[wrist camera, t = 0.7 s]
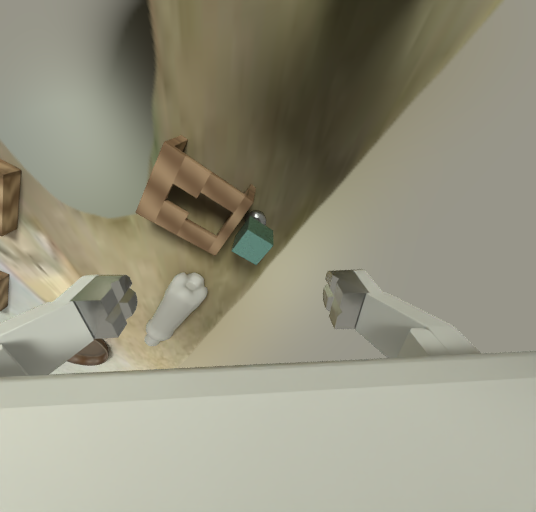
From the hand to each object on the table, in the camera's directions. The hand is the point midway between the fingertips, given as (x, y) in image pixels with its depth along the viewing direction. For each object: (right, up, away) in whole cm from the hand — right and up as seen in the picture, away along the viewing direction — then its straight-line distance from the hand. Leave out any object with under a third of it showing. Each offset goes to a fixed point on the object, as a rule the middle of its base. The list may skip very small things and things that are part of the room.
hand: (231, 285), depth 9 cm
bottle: (-26, -12, +55) cm, 62 cm away
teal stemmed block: (-1, +9, +39) cm, 40 cm away
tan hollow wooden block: (-12, +14, +36) cm, 40 cm away
